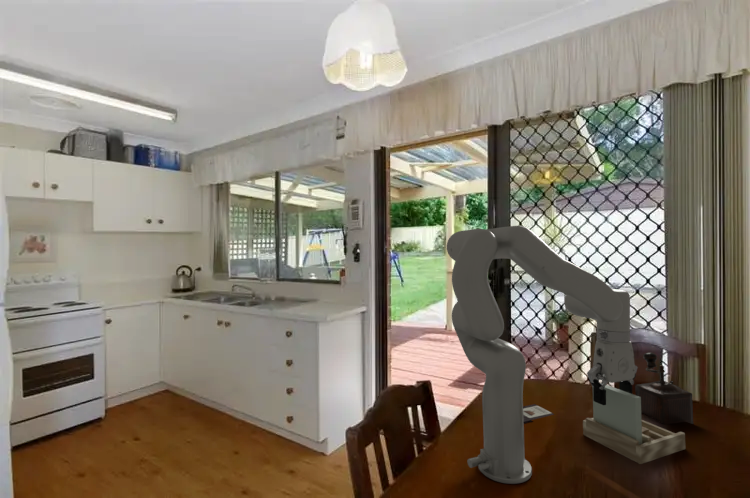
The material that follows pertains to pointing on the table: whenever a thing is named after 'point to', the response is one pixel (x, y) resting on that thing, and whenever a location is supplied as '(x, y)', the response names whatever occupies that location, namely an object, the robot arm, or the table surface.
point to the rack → (636, 441)
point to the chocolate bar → (534, 413)
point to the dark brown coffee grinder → (664, 397)
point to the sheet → (620, 412)
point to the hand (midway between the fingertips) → (612, 400)
